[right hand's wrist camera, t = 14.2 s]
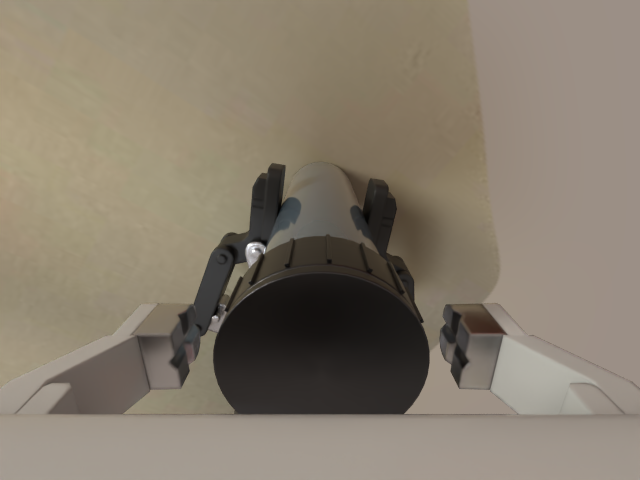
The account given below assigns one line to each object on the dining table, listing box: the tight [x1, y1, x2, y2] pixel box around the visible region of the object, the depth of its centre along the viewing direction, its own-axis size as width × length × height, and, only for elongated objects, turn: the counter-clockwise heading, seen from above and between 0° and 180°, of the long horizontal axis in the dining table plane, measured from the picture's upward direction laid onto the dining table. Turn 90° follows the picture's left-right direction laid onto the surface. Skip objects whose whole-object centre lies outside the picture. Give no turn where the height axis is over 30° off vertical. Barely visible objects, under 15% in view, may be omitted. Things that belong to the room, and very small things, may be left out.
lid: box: [213, 234, 429, 414], centre depth 9 cm, size 5×5×2 cm
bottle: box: [263, 162, 379, 254], centre depth 17 cm, size 5×5×17 cm
